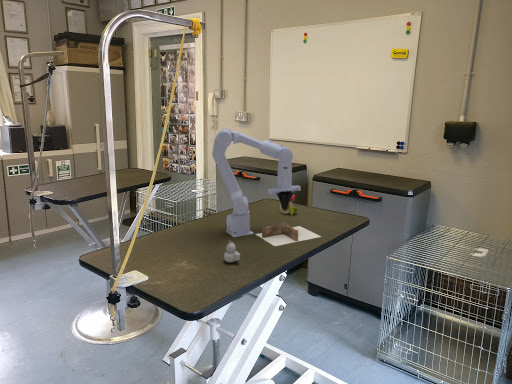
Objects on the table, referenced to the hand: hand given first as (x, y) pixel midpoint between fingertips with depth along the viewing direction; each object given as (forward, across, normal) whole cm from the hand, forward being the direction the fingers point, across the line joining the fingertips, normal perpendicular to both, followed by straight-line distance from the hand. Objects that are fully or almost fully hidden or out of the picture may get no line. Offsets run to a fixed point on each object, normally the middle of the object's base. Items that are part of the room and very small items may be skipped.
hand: (284, 209), depth 168 cm
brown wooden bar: (+10, -1, -8) cm, 12 cm away
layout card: (+10, -1, -5) cm, 11 cm away
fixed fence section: (+10, -6, -2) cm, 12 cm away
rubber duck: (+11, -32, -18) cm, 38 cm away
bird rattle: (+10, +16, +22) cm, 29 cm away
